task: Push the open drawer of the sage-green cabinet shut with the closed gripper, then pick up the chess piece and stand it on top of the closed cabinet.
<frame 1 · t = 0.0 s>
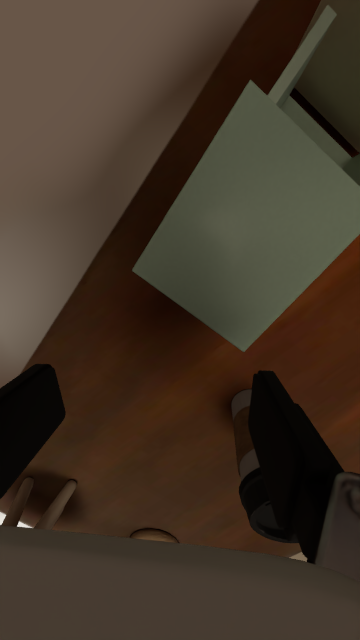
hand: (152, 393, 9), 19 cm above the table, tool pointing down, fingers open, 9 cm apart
candle holder: (154, 542, 47), on the table
coffee cup: (249, 403, 32), on the table
cabinet: (227, 246, 24), on the table
drawer: (321, 133, 17), point 5 cm above the table, slide at 7.0 cm
planter: (55, 487, 43), on the table
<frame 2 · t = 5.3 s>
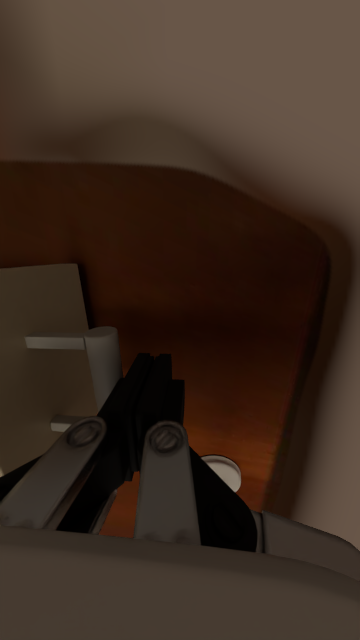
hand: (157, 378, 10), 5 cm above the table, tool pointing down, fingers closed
chess piece: (214, 471, 19), on the table
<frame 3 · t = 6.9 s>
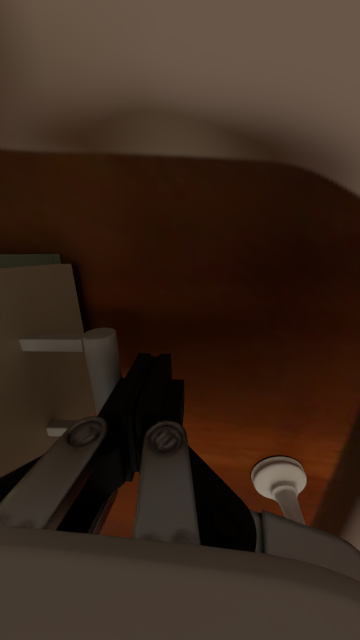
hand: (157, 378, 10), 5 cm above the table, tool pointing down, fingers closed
chess piece: (276, 472, 19), on the table
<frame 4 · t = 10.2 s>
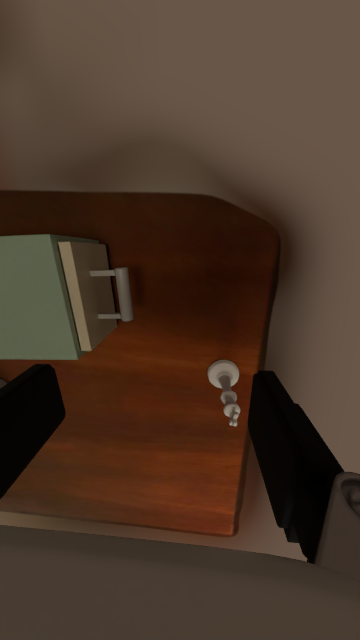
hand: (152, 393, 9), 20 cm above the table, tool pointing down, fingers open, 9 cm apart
cabinet: (58, 288, 29), on the table
drawer: (62, 294, 24), point 5 cm above the table, slide at 0.0 cm, touching cabinet
chess piece: (222, 372, 32), on the table
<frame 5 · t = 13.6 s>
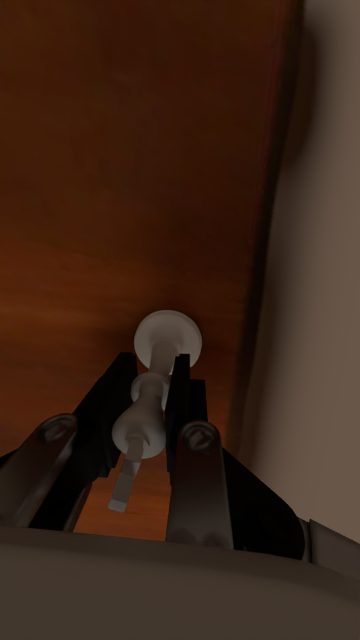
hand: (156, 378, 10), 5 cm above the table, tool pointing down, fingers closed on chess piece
chess piece: (168, 340, 15), on the table, touching gripper
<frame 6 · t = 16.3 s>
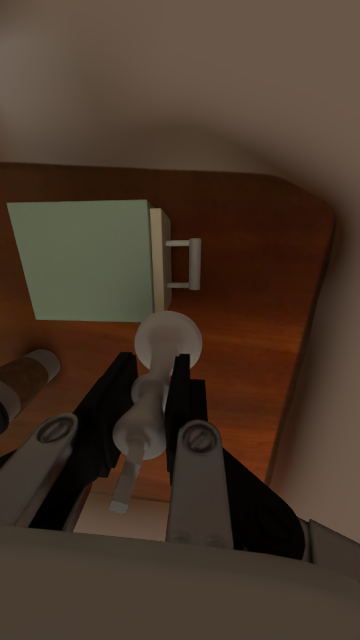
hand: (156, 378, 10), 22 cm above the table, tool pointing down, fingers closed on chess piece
coffee cup: (46, 362, 38), on the table
cabinet: (117, 262, 31), on the table
drawer: (132, 264, 26), point 5 cm above the table, slide at 0.0 cm, touching cabinet
chess piece: (169, 341, 15), point 18 cm above the table, touching gripper
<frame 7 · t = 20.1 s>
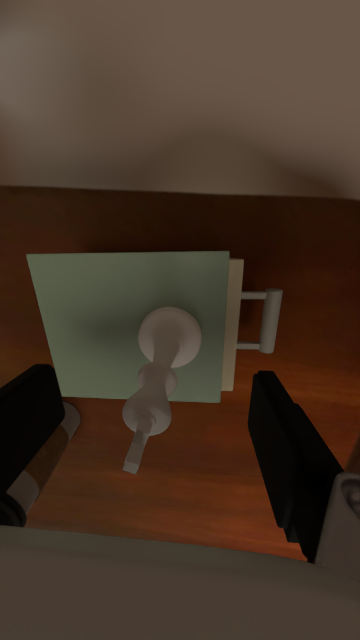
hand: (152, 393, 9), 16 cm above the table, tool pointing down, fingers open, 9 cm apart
coffee cup: (63, 414, 32), on the table
cabinet: (155, 305, 25), on the table
drawer: (183, 317, 20), point 5 cm above the table, slide at 0.0 cm, touching cabinet
chess piece: (170, 335, 16), point 9 cm above the table, touching cabinet
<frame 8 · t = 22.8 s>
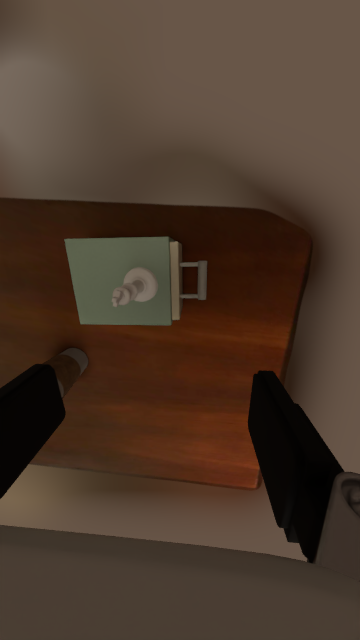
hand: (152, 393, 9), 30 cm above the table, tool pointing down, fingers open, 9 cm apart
coffee cup: (76, 358, 45), on the table
cabinet: (138, 276, 38), on the table
drawer: (153, 279, 33), point 5 cm above the table, slide at 0.0 cm, touching cabinet
chess piece: (141, 284, 29), point 9 cm above the table, touching cabinet
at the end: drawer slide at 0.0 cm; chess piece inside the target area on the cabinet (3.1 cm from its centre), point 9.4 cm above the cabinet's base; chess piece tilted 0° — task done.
